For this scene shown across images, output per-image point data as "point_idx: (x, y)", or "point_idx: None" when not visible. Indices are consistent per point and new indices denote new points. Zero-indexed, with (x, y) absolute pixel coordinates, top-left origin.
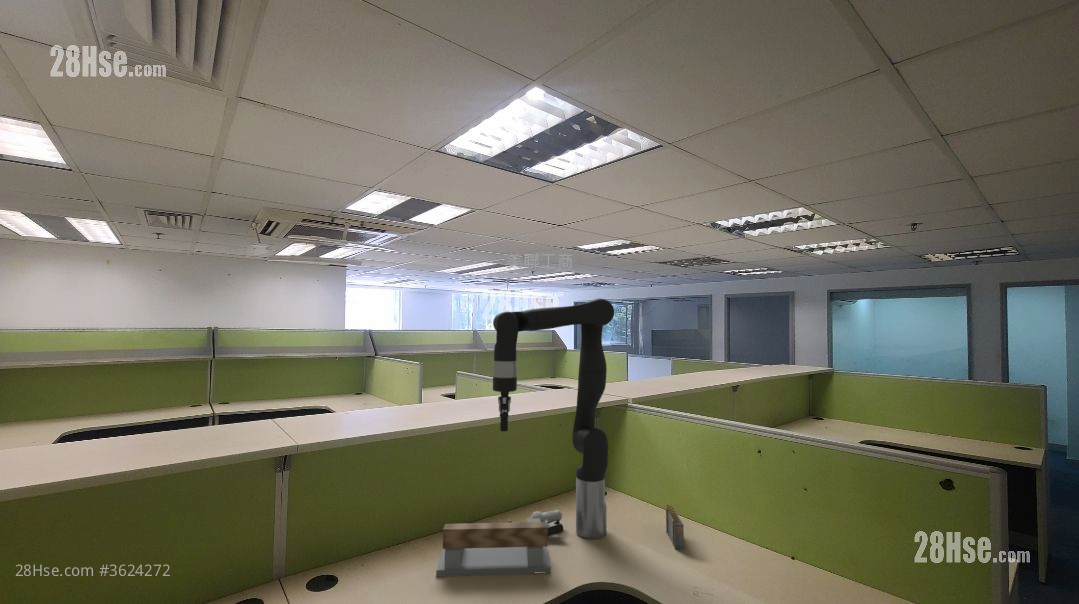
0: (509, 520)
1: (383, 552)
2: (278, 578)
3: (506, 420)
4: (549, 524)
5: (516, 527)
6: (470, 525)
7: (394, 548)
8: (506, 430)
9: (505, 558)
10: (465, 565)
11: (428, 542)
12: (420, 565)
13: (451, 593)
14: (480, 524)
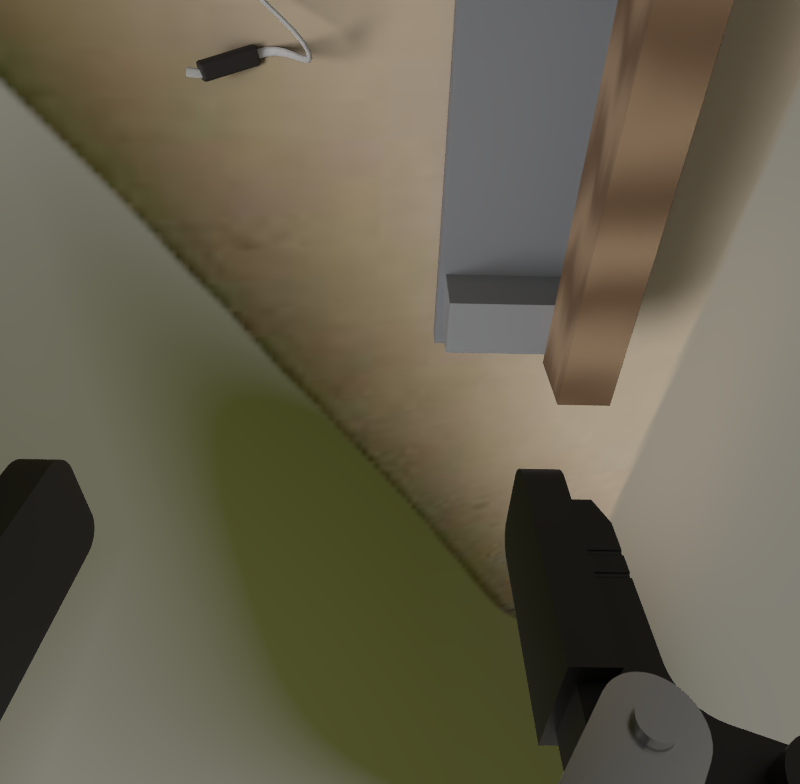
0: (196, 72)
1: (419, 479)
2: (509, 611)
3: (660, 656)
4: None
5: (704, 74)
6: (602, 311)
7: (397, 461)
8: (555, 482)
9: (577, 100)
10: None
11: (363, 384)
12: (512, 384)
13: (702, 283)
14: (605, 270)
